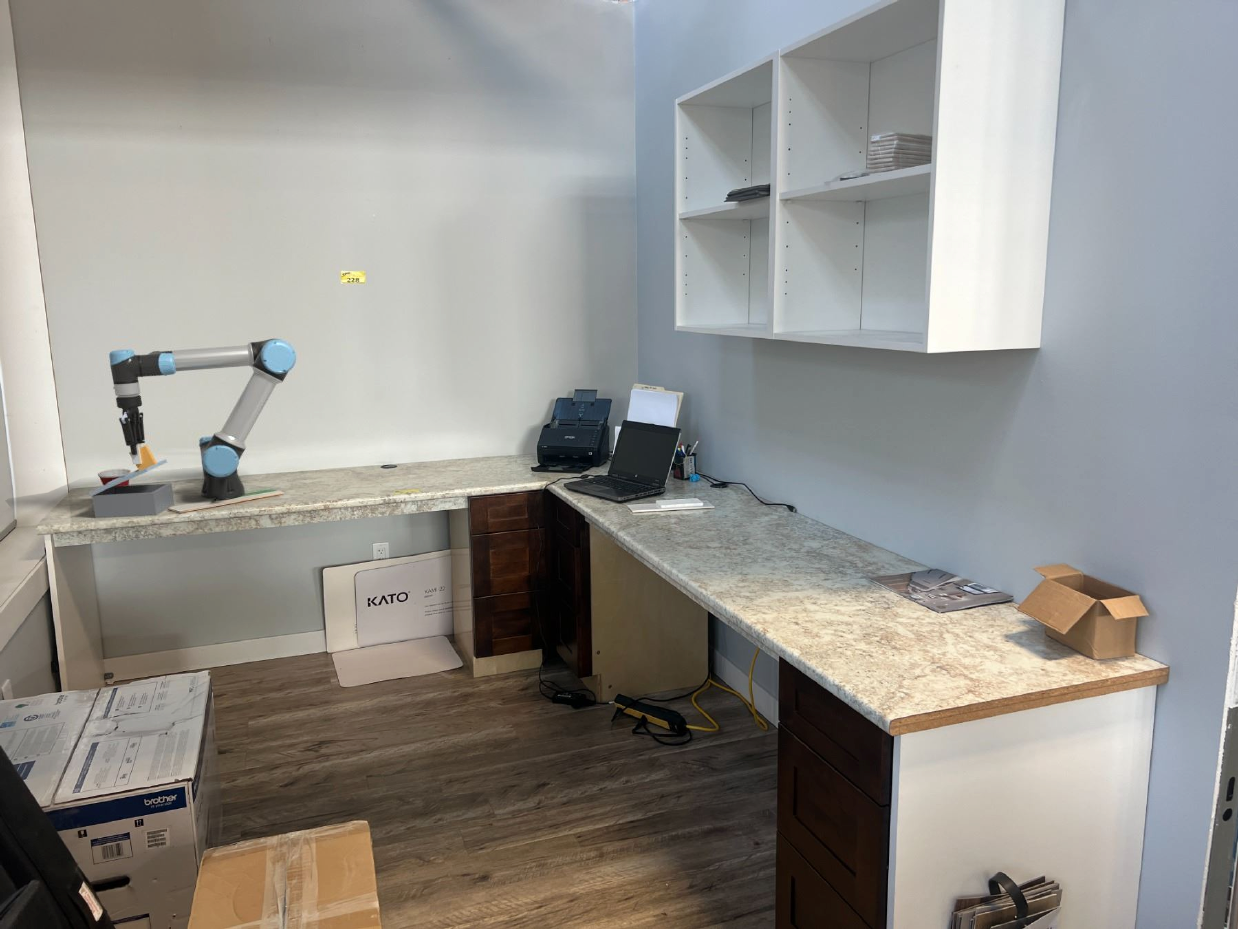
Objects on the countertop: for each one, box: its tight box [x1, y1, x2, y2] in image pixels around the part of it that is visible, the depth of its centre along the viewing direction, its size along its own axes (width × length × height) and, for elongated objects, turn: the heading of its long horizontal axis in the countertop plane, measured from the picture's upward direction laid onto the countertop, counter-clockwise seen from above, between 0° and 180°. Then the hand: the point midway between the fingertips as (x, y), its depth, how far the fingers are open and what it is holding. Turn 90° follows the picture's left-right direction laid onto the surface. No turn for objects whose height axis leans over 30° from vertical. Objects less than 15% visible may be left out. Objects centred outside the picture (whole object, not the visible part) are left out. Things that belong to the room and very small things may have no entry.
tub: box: [91, 482, 175, 519], centre depth 305 cm, size 20×15×9 cm
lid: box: [88, 444, 168, 497], centre depth 302 cm, size 22×16×8 cm
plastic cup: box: [97, 468, 132, 490], centre depth 321 cm, size 11×11×12 cm
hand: (138, 463), depth 302 cm, fingers closed on lid, 2 cm apart
